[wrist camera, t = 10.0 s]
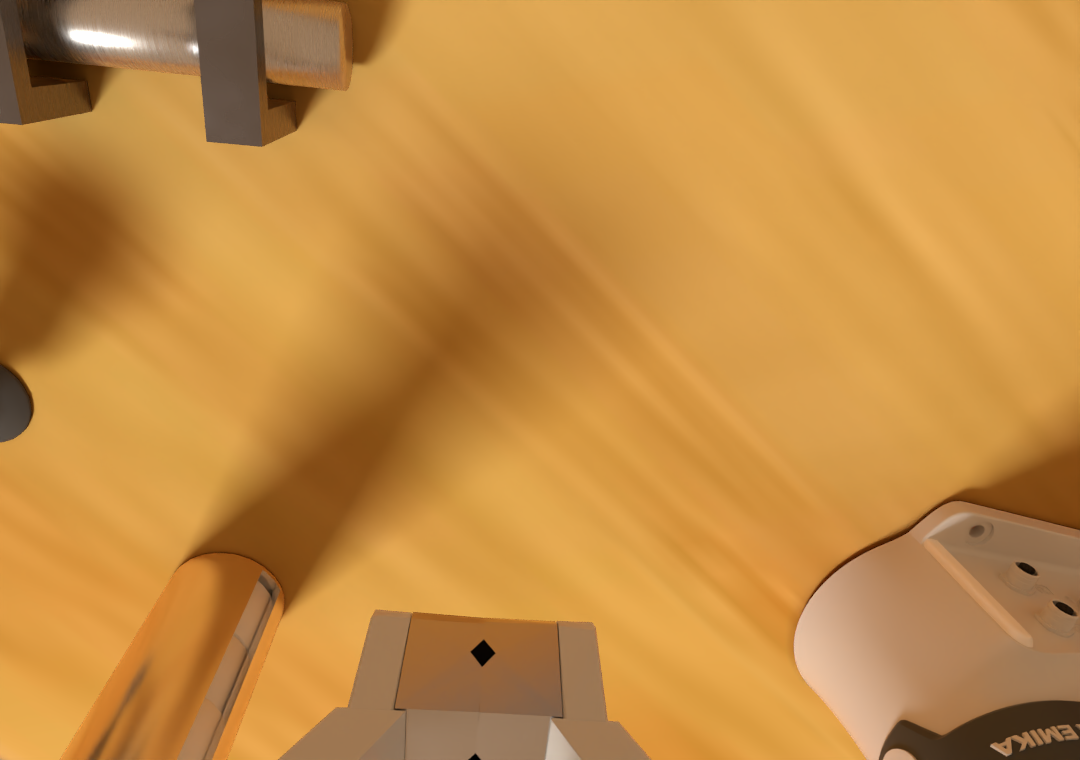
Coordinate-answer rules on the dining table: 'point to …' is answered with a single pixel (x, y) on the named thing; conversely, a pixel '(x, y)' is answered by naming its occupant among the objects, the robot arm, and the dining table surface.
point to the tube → (189, 37)
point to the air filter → (187, 667)
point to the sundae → (12, 406)
